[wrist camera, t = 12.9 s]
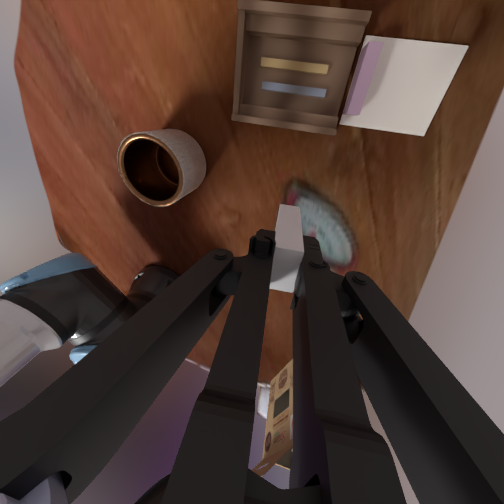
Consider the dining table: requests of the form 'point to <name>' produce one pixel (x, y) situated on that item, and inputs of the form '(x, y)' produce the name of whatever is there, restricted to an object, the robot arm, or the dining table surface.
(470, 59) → the dining table surface
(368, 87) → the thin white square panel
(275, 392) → the box
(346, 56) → the pencil case
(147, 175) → the planter
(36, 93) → the dining table surface
